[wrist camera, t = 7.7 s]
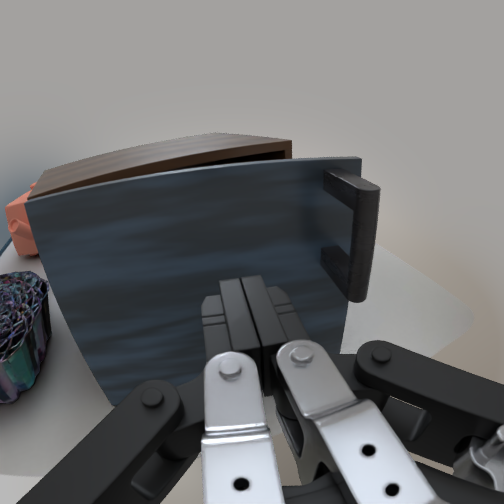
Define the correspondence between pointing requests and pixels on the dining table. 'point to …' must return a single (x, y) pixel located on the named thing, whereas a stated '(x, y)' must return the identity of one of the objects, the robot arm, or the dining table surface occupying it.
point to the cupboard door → (201, 257)
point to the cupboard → (162, 160)
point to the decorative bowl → (22, 331)
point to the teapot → (21, 226)
